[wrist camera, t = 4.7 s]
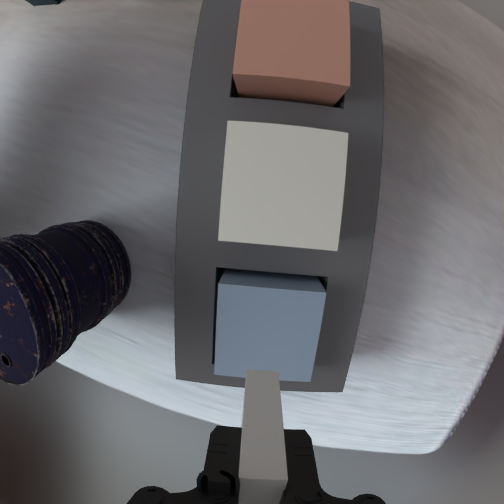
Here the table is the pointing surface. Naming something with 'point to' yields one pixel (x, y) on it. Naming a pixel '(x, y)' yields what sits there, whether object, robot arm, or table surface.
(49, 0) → the watch
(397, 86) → the table surface
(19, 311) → the storage jar
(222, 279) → the slate blue key
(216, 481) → the robot arm
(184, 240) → the keypad housing
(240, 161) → the white key
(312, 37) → the terracotta key
